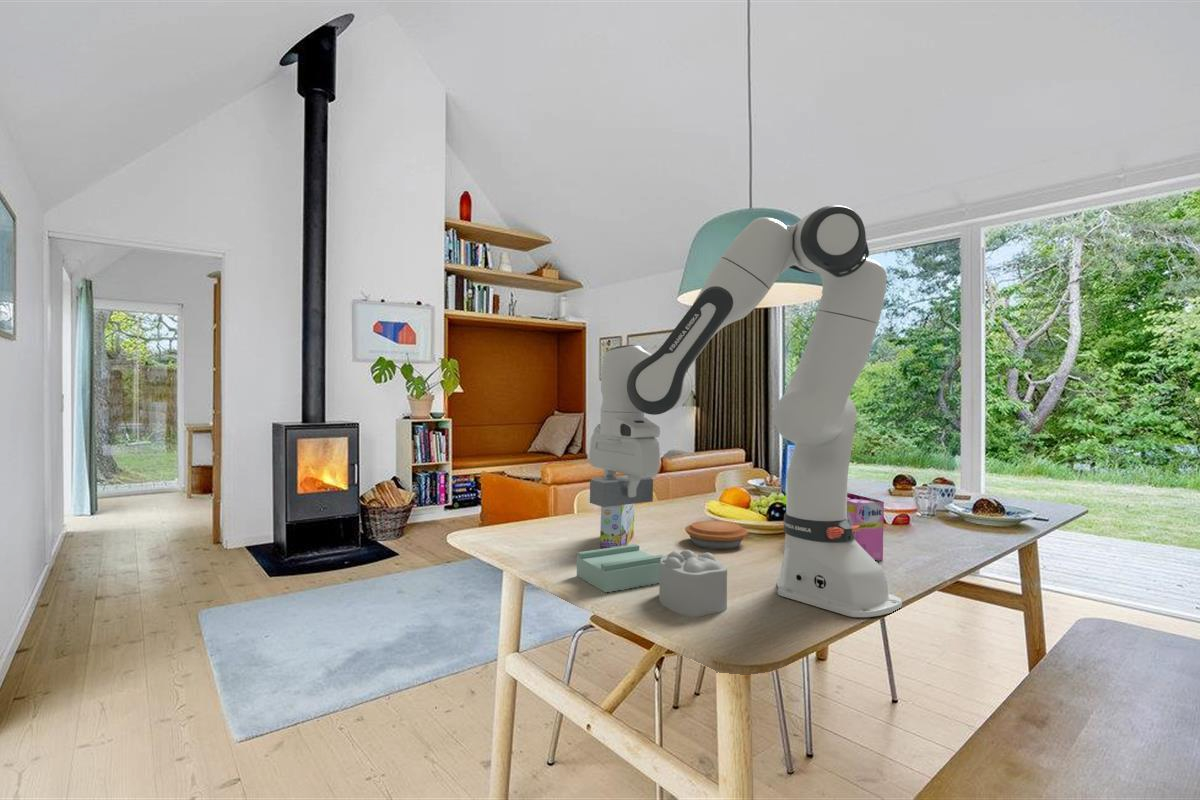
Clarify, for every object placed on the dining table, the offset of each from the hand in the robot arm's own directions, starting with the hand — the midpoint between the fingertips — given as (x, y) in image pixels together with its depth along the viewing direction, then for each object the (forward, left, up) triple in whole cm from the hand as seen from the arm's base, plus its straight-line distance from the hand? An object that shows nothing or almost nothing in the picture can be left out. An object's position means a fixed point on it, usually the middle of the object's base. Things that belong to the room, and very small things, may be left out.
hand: (621, 494), depth 120 cm
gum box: (-5, -59, -18) cm, 62 cm away
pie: (+13, -36, -18) cm, 42 cm away
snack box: (+24, -14, -18) cm, 33 cm away
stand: (0, 0, -17) cm, 17 cm away
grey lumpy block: (-17, -4, -18) cm, 25 cm away
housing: (0, 0, -2) cm, 2 cm away
